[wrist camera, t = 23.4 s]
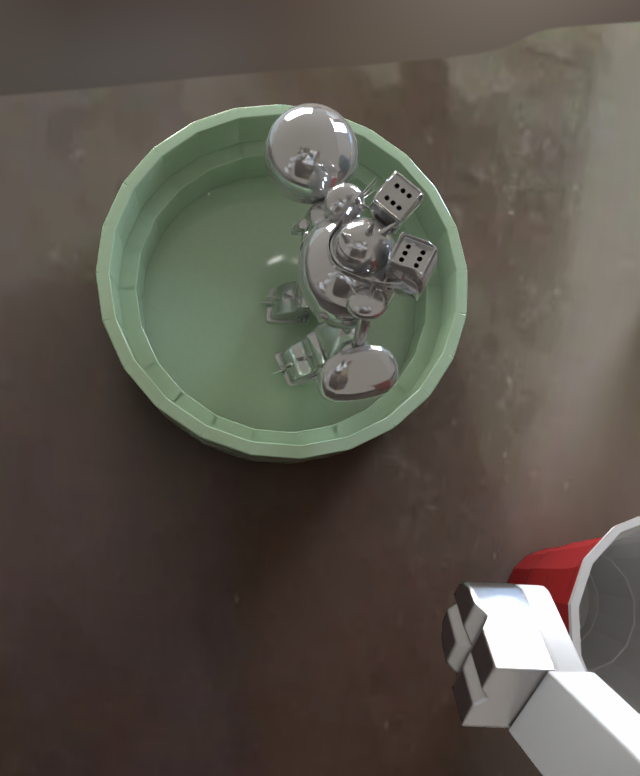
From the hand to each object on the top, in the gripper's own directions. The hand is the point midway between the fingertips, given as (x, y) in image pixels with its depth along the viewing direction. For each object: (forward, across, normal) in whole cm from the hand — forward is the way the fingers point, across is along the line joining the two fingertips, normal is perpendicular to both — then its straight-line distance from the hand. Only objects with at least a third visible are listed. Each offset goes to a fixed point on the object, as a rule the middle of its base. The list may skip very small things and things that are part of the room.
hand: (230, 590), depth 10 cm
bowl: (+27, -2, +8) cm, 29 cm away
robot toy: (+27, -4, +8) cm, 28 cm away
